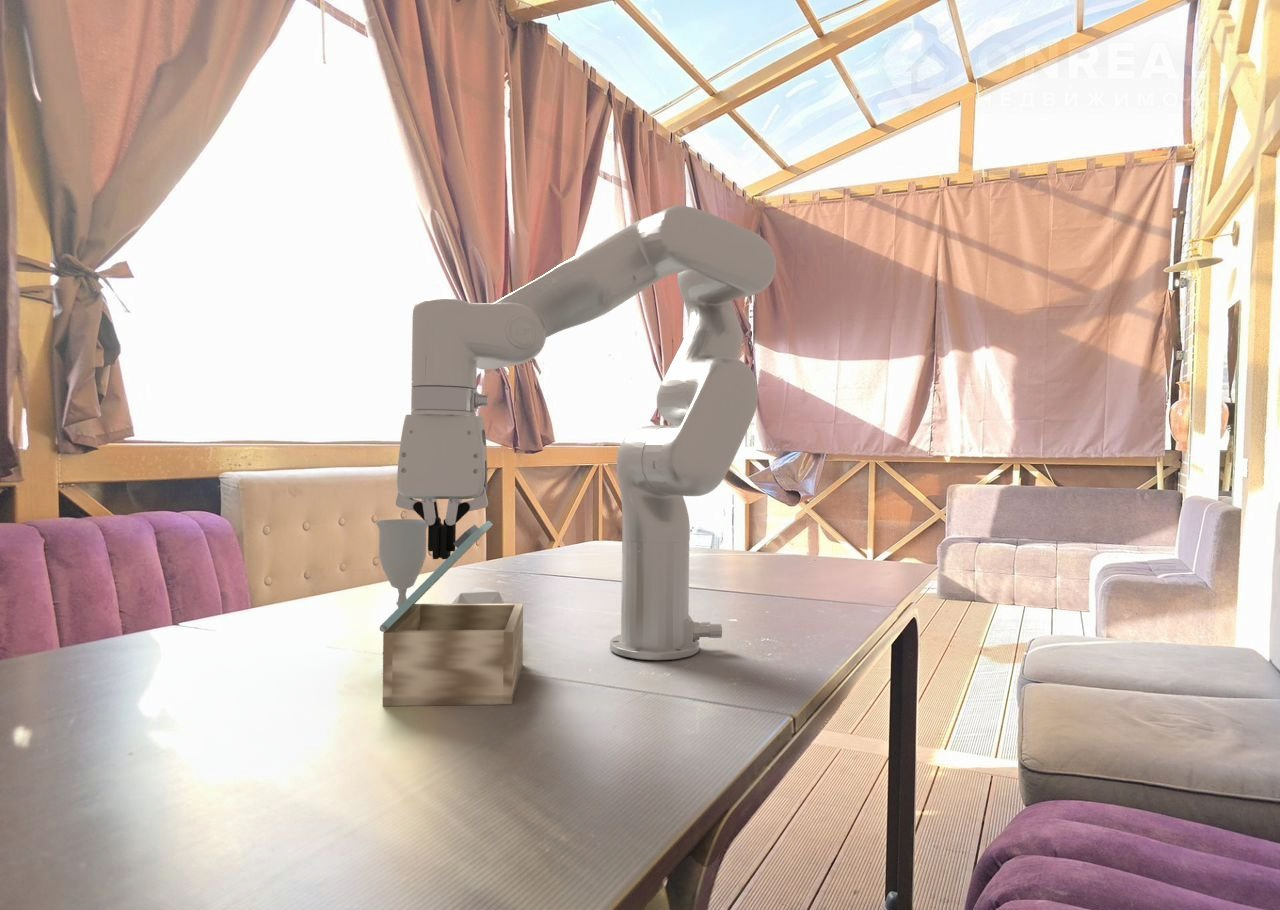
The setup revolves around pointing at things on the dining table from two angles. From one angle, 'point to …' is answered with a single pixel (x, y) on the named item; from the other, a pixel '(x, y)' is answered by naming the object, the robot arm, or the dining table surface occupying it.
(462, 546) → the lid
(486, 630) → the chest
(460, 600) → the die
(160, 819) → the dining table surface
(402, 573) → the chalice
